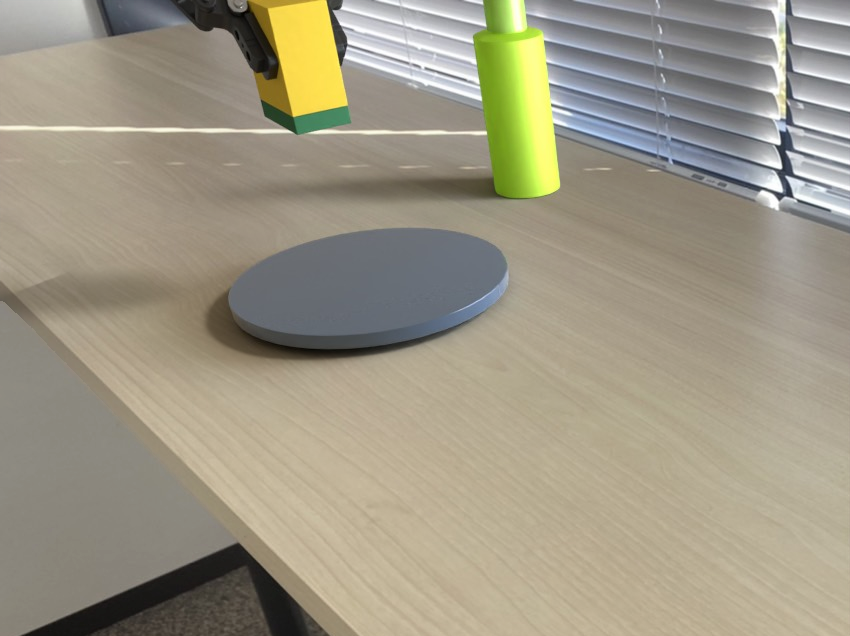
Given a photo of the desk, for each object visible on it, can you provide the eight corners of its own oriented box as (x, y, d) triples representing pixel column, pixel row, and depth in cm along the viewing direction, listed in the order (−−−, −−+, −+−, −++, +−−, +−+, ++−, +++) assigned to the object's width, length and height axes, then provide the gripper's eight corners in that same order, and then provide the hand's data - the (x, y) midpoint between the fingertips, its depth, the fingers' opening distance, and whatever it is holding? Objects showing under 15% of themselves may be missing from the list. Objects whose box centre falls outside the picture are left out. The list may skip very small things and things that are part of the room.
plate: (365, 383, 75) (360, 361, 74) (175, 317, 84) (168, 296, 83) (565, 277, 89) (562, 257, 88) (382, 230, 98) (378, 211, 97)
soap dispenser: (507, 206, 102) (471, -48, 90) (488, 183, 107) (451, -60, 95) (571, 195, 103) (544, -55, 92) (549, 173, 109) (521, -66, 97)
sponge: (297, 135, 79) (267, 8, 74) (264, 116, 82) (233, -6, 77) (351, 123, 81) (326, -2, 76) (317, 105, 84) (291, -15, 79)
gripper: (74, -193, 71) (204, 49, 71) (295, -207, 79) (414, 12, 78) (80, -102, 78) (199, 120, 77) (284, -123, 85) (393, 80, 85)
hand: (306, 65), depth 78 cm, fingers closed on sponge, 4 cm apart
